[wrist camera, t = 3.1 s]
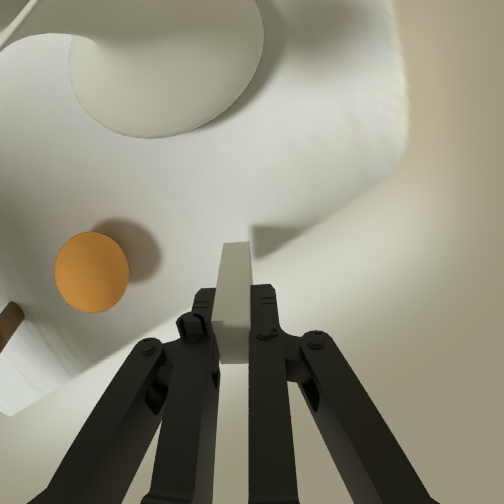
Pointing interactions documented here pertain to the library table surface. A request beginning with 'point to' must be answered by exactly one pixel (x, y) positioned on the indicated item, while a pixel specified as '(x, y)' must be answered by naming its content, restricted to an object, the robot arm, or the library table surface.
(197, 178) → the library table surface
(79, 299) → the ball
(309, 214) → the library table surface
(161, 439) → the robot arm
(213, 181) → the library table surface
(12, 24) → the flower in vase
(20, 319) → the post
